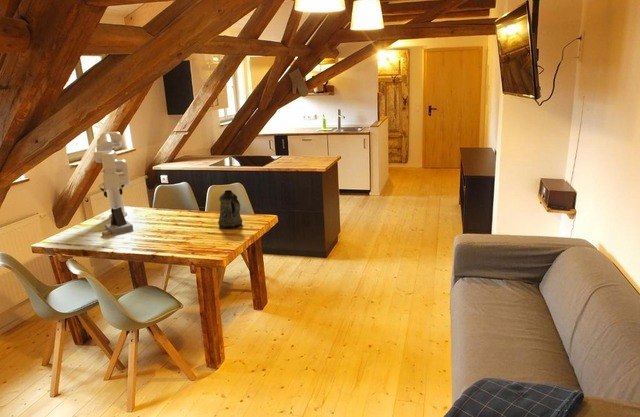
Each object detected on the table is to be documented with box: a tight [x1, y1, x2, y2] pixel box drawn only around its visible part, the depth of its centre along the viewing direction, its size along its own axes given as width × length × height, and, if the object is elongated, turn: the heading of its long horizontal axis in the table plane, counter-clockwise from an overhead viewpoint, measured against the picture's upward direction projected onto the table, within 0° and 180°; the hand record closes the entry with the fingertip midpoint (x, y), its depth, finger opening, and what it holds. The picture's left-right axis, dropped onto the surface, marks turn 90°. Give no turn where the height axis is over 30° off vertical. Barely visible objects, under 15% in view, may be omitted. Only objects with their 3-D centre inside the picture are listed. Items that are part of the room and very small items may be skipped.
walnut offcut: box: [101, 230, 112, 238], centre depth 310 cm, size 5×4×3 cm
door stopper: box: [110, 207, 127, 226], centre depth 320 cm, size 9×6×12 cm, turn 62°
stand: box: [104, 220, 134, 236], centre depth 321 cm, size 16×14×4 cm
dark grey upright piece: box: [217, 189, 243, 230], centre depth 320 cm, size 16×19×25 cm
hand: (113, 195), depth 318 cm, fingers open, 9 cm apart
